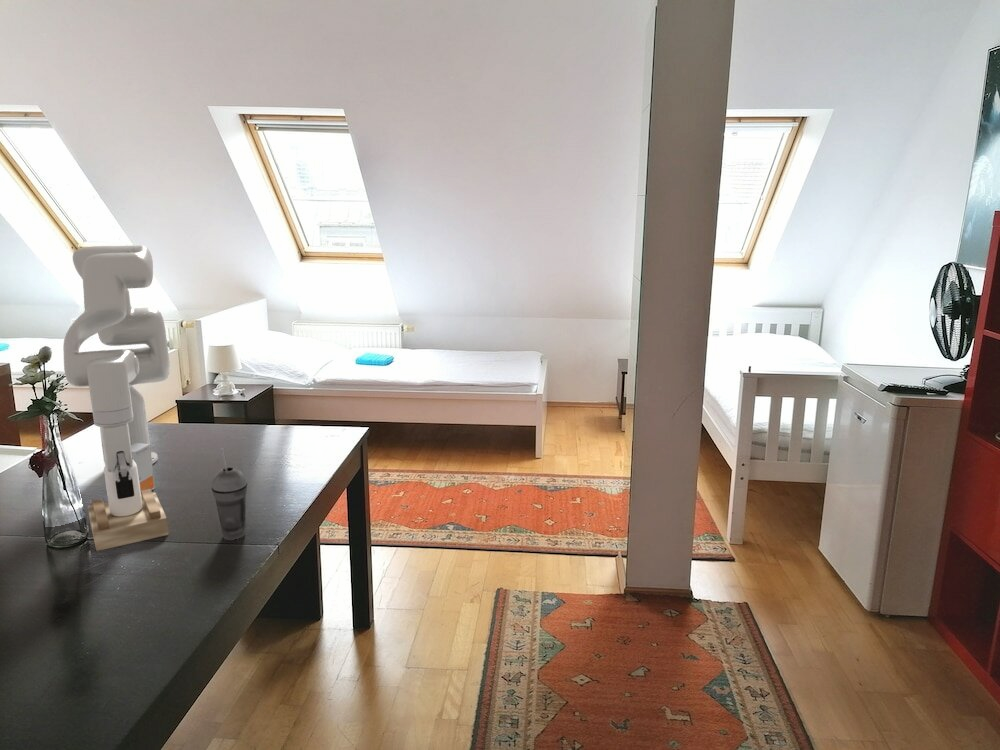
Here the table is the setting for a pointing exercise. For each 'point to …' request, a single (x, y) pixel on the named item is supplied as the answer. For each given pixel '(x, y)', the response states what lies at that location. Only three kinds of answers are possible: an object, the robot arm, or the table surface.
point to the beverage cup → (230, 500)
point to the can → (126, 504)
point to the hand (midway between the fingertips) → (123, 489)
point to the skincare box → (143, 465)
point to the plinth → (127, 523)
